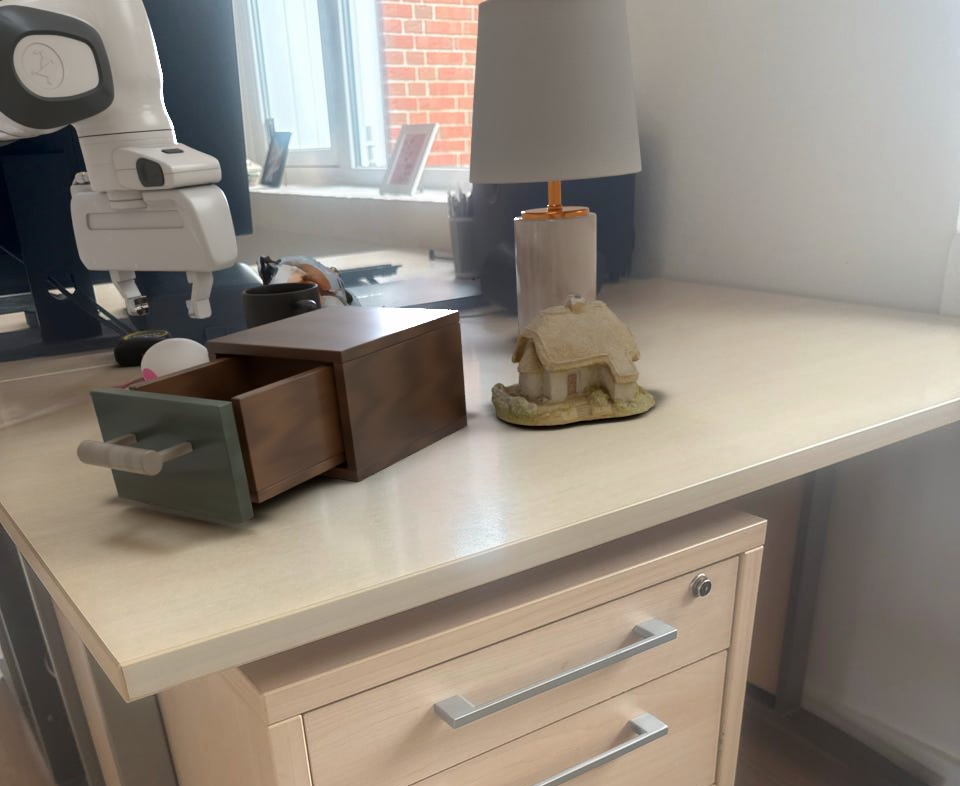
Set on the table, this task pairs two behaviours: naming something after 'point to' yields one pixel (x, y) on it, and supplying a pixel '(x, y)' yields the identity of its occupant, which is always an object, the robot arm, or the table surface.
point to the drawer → (219, 434)
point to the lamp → (553, 129)
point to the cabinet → (373, 375)
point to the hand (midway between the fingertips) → (169, 316)
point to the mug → (279, 302)
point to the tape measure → (137, 346)
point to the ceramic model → (573, 368)
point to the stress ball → (172, 357)
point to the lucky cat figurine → (307, 278)
